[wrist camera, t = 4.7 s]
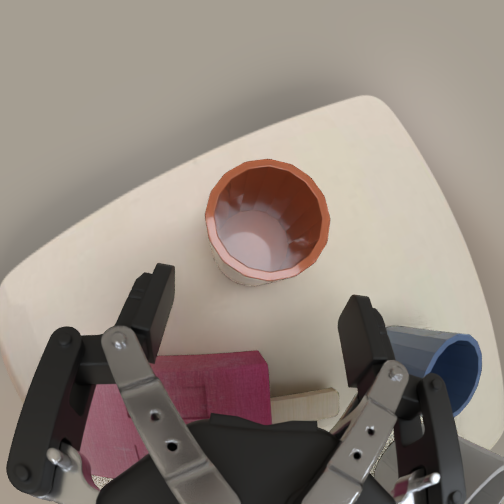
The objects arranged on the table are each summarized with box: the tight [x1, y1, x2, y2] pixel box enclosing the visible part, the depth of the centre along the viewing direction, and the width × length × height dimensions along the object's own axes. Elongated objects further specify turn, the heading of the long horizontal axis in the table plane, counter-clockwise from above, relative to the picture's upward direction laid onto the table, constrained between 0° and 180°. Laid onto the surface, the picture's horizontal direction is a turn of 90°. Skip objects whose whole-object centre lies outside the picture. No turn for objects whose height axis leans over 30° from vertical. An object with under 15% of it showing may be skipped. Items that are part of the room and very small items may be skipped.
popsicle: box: [80, 350, 339, 479], centre depth 18 cm, size 9×5×20 cm
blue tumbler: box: [386, 326, 482, 417], centre depth 18 cm, size 6×6×8 cm
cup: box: [374, 423, 504, 504], centre depth 15 cm, size 9×9×12 cm
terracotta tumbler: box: [205, 159, 330, 286], centre depth 18 cm, size 6×6×8 cm
